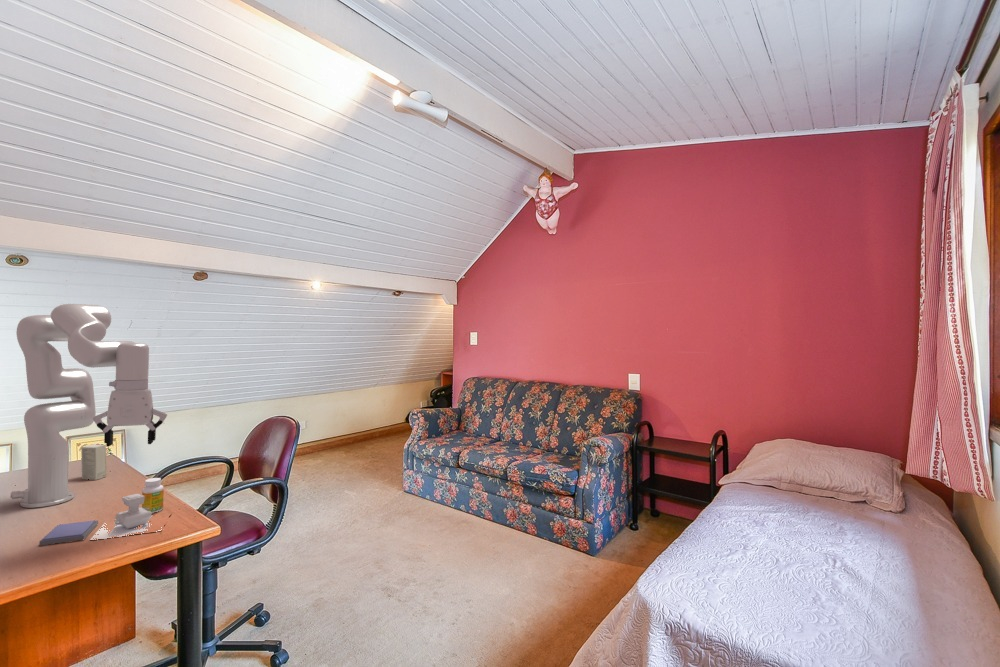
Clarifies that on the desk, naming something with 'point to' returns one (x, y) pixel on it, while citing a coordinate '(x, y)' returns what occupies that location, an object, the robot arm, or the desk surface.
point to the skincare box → (93, 461)
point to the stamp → (133, 512)
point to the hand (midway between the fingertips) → (130, 444)
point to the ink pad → (69, 532)
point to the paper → (118, 531)
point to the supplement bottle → (153, 495)
